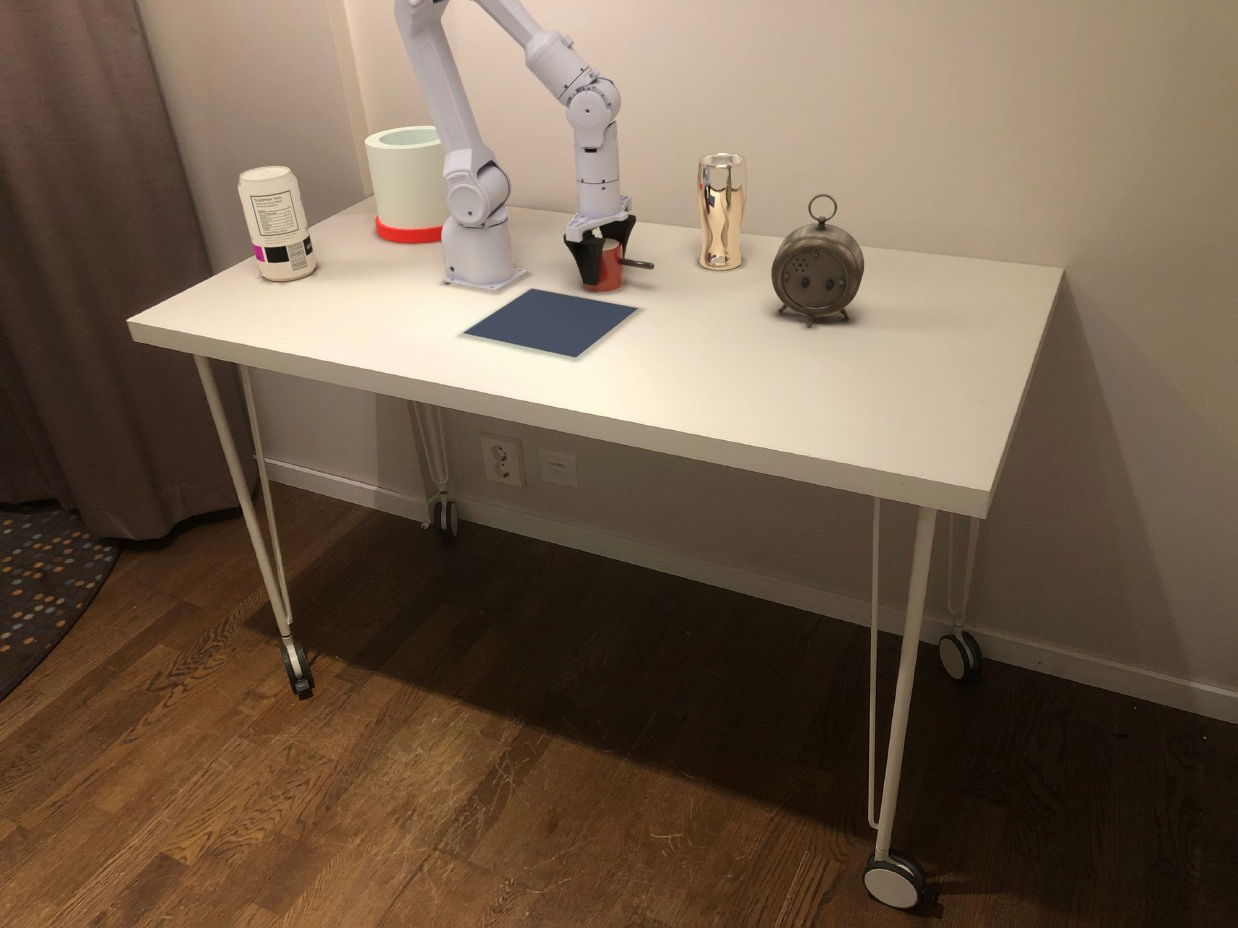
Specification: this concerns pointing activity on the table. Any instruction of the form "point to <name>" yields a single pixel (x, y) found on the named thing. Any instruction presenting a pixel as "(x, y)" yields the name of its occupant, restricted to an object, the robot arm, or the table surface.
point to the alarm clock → (818, 269)
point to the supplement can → (276, 223)
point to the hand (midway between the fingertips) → (603, 275)
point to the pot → (614, 266)
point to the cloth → (552, 322)
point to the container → (408, 183)
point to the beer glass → (721, 208)
